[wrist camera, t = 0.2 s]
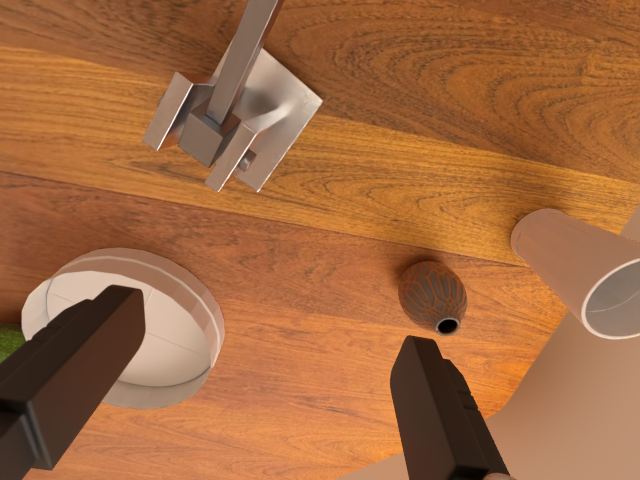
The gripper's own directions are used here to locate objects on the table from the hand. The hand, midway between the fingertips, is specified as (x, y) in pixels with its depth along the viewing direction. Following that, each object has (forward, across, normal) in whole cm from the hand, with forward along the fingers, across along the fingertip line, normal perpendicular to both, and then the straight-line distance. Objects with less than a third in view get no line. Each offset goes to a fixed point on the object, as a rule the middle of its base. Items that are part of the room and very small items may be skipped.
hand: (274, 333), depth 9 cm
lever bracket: (+24, +6, -3) cm, 25 cm away
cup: (+25, -27, +3) cm, 36 cm away
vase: (+25, -16, +11) cm, 31 cm away
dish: (+24, +18, +25) cm, 40 cm away
